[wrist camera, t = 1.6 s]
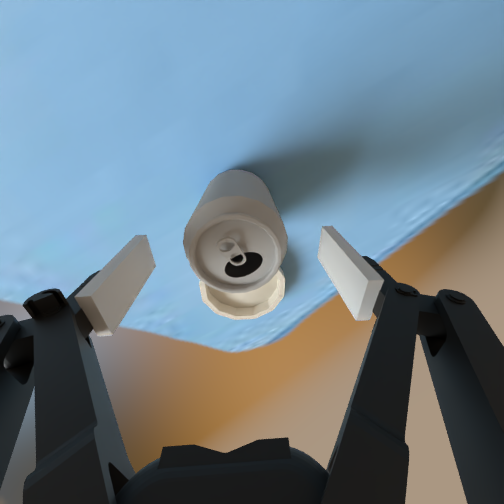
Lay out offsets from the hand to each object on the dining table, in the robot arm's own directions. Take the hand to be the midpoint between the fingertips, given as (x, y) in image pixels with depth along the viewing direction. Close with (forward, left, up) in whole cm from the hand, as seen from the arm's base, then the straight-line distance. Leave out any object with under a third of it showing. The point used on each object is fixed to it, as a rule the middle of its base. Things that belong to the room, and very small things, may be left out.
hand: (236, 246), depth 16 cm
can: (0, 0, -10) cm, 10 cm away
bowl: (+11, 0, -9) cm, 14 cm away
